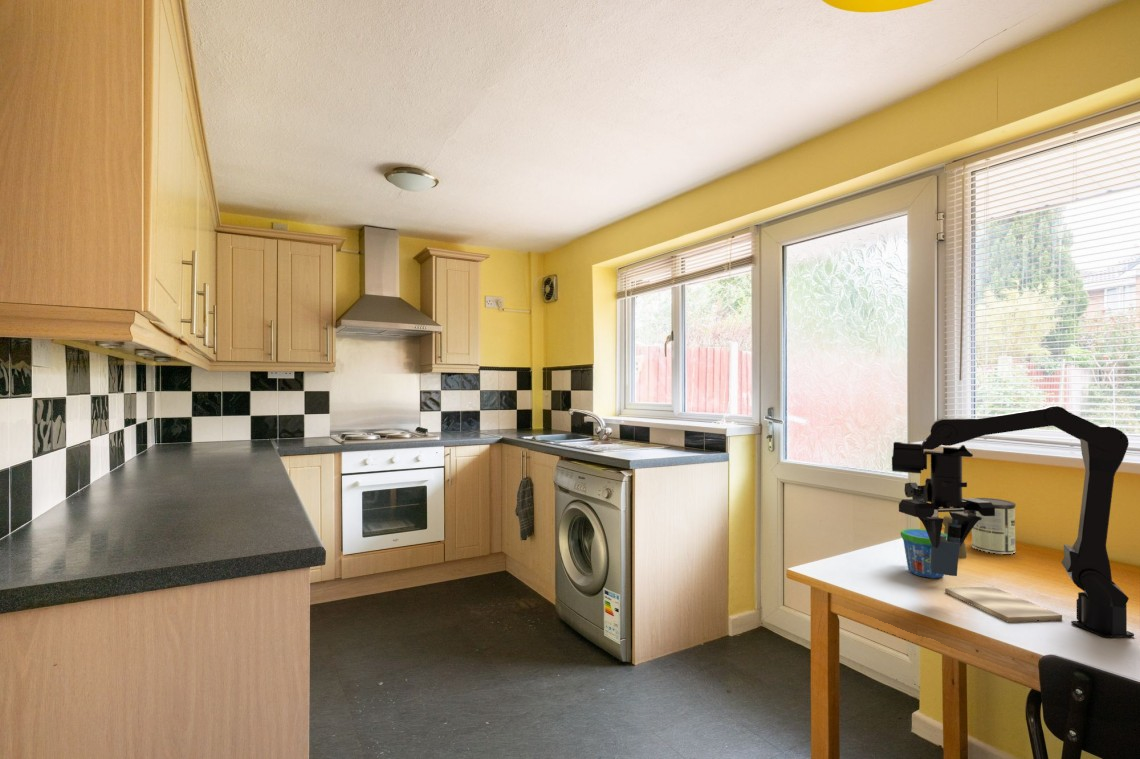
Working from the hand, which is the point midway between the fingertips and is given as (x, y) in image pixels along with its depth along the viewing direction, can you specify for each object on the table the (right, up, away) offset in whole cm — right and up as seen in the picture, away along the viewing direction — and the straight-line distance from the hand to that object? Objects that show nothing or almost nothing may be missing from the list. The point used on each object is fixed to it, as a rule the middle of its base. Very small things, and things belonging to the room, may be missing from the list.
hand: (946, 546), depth 120 cm
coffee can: (+41, -13, +40) cm, 58 cm away
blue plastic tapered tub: (+7, -13, +18) cm, 23 cm away
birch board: (+10, -12, -2) cm, 16 cm away
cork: (+25, -13, +34) cm, 44 cm away
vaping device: (-1, -6, 0) cm, 6 cm away
